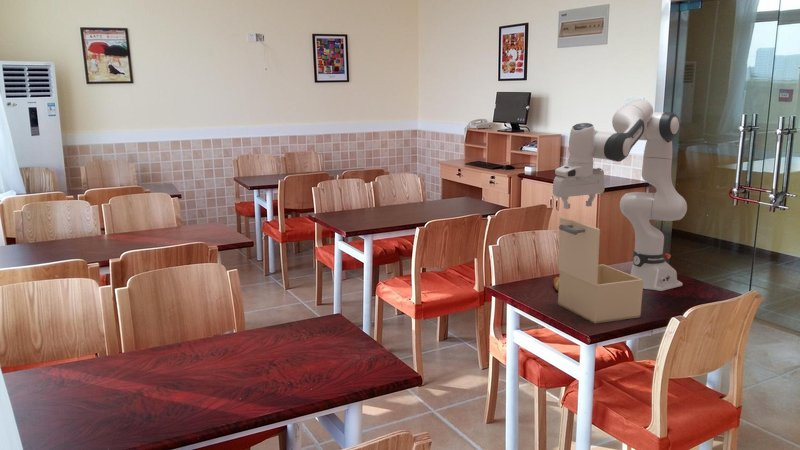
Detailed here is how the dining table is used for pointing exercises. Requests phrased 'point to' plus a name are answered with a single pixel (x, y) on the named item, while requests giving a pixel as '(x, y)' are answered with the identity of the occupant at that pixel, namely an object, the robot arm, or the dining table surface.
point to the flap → (579, 250)
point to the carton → (602, 295)
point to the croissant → (556, 283)
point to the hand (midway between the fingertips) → (577, 207)
